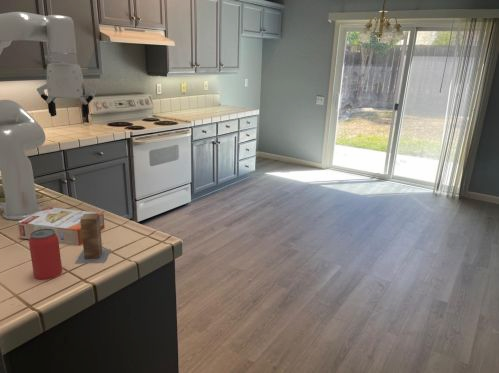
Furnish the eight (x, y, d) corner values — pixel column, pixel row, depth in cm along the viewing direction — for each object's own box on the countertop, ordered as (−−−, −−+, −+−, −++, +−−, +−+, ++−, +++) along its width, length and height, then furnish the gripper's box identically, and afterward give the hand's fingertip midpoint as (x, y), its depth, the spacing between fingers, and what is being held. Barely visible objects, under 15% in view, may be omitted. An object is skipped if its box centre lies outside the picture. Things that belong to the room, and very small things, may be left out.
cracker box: (78, 228, 113) (16, 221, 116) (80, 247, 114) (19, 239, 118) (104, 211, 126) (47, 206, 129) (105, 228, 128) (49, 222, 131)
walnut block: (84, 259, 107) (80, 219, 103) (88, 252, 110) (84, 213, 107) (99, 258, 107) (95, 218, 104) (102, 251, 111) (99, 213, 107)
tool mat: (74, 265, 104) (74, 263, 104) (83, 251, 112) (82, 249, 112) (105, 264, 105) (104, 262, 105) (111, 251, 113) (111, 249, 113)
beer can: (40, 268, 102) (34, 227, 99) (66, 268, 103) (61, 227, 99) (29, 281, 96) (22, 238, 92) (56, 281, 97) (50, 238, 93)
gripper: (28, 58, 112) (36, 117, 117) (90, 60, 114) (94, 118, 119) (38, 58, 119) (45, 114, 124) (96, 60, 121) (100, 115, 126)
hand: (69, 116), depth 121 cm, fingers open, 9 cm apart
